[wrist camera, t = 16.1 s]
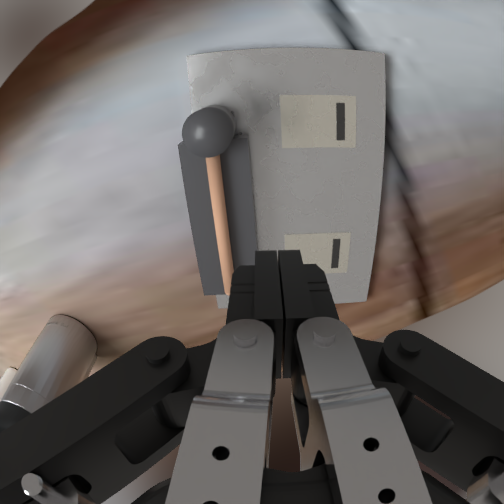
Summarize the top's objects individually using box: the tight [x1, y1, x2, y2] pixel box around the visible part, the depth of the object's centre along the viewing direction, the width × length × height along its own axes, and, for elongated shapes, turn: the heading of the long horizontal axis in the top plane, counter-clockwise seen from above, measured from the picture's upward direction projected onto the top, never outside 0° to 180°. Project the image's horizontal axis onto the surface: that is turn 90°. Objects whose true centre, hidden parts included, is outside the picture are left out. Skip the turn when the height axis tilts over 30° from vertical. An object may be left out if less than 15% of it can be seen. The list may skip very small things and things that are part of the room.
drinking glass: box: [0, 367, 17, 401], centre depth 46 cm, size 7×7×15 cm
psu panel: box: [187, 48, 386, 308], centre depth 31 cm, size 28×18×1 cm, turn 4°
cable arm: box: [178, 105, 258, 296], centre depth 29 cm, size 19×6×4 cm, turn 5°
